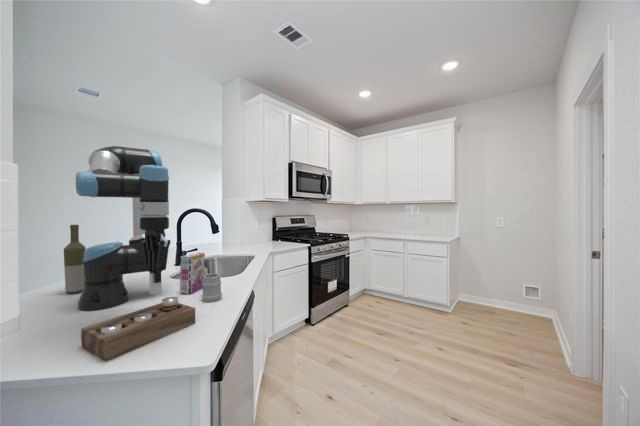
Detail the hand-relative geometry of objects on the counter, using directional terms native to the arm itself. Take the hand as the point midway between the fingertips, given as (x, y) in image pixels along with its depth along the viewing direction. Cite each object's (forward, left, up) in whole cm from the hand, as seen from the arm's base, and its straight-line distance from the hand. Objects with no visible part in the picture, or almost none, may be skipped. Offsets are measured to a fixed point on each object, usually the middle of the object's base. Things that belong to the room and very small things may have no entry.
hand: (155, 292), depth 80 cm
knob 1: (0, -12, -11) cm, 16 cm away
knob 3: (0, +4, -8) cm, 9 cm away
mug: (-9, +26, -12) cm, 30 cm away
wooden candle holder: (0, -4, -11) cm, 12 cm away
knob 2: (0, -4, -11) cm, 11 cm away
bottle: (-67, +2, -12) cm, 68 cm away
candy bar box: (-24, +29, -12) cm, 40 cm away
